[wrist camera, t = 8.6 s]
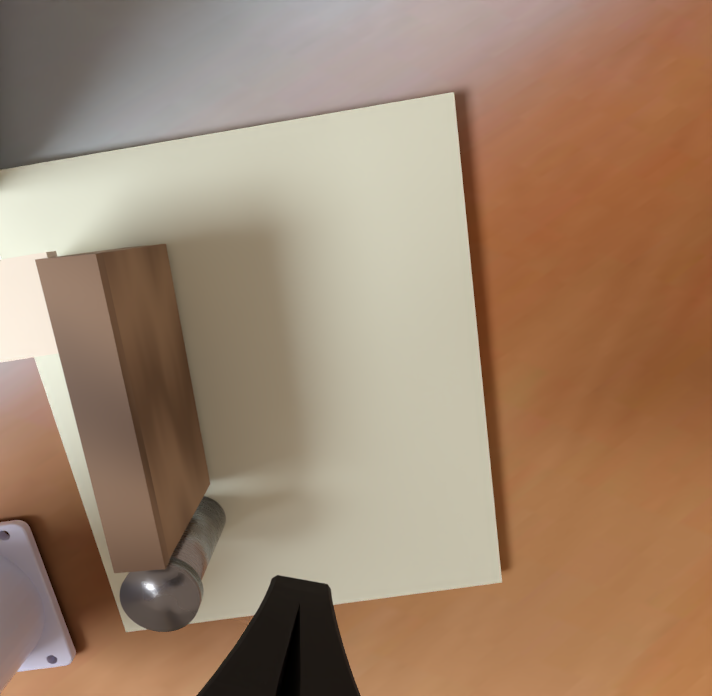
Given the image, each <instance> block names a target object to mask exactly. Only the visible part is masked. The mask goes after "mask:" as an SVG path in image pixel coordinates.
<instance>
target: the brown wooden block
mask: <svg viewBox="0 0 712 696" xmlns="http://www.w3.org/2000/svg"><path fill="white" fill-rule="evenodd" d="M35 262H36V266H37V270H38V274H39V278H40V282H41V286H42V290H43V294H44V297H45V301H46V305H47V309H48V313H49V317H50V321H51V325H52V329H53V333H54V337H55V341H56V345H57V349H58V353H59V357H60V361H61V365H62V369H63V373H64V377H65V381H66V385H67V389H68V392H69V396H70V400H71V404H72V408H73V412H74V416H75V420H76V424H77V428H78V432H79V436H80V440H81V444H82V448H83V452H84V456H85V460H86V464H87V468H88V472H89V476H90V480H91V484H92V488H93V491H94V495H95V499H96V503H97V507H98V511H99V515H100V519H101V523H102V527H103V531H104V535H105V539H106V543H107V547H108V551H109V555H110V559H111V563H112V567H113V571H114V573H124V572H137V571H149V570H162V569H166V567H167V565H168V563H169V562H170V560H169V559H170V557H171V555H172V553H173V552H174V550H175V548H176V546H177V544H178V542H179V541H180V539H181V537H182V535H183V533H184V531H185V530H186V528H187V526H188V524H189V522H190V520H191V519H192V517H193V515H194V513H195V511H196V509H197V507H198V506H199V504H200V502H201V500H202V498H203V496H204V495H205V493H206V491H207V489H208V487H209V485H210V479H209V474H208V468H207V463H206V458H205V452H204V447H203V441H202V436H201V431H200V425H199V420H198V414H197V409H196V404H195V398H194V393H193V387H192V382H191V377H190V371H189V366H188V360H187V355H186V350H185V344H184V339H183V333H182V328H181V323H180V317H179V312H178V306H177V301H176V296H175V290H174V285H173V279H172V274H171V269H170V263H169V258H168V252H167V247H166V244H157V245H146V246H136V247H125V248H117V249H110V250H103V251H95V252H88V253H80V254H73V255H65V256H58V257H50V258H42V259H35Z"/></svg>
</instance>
